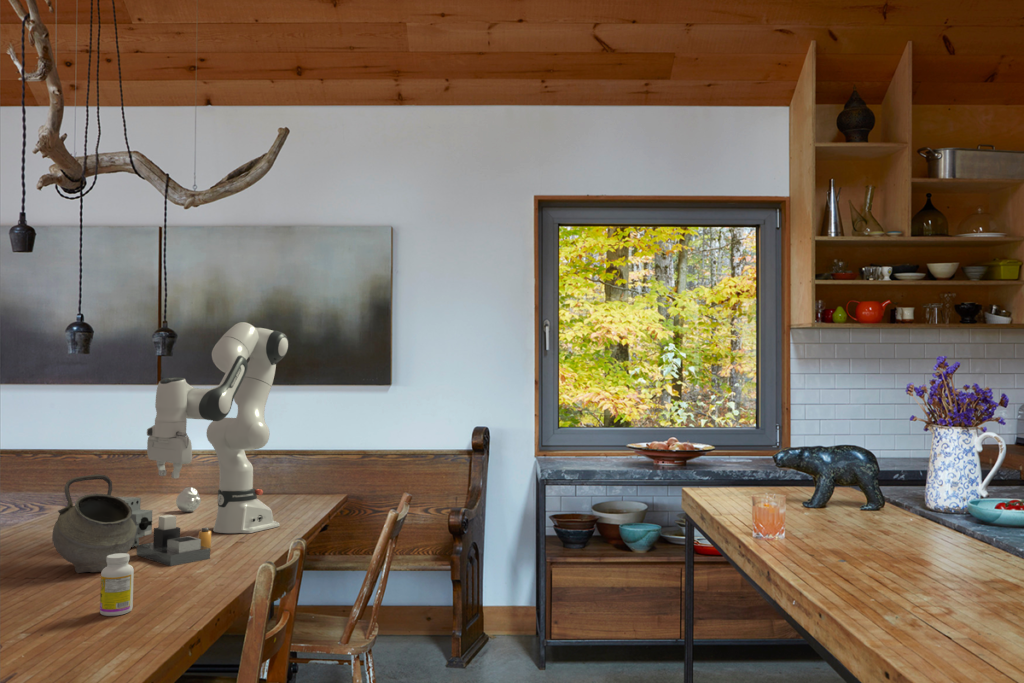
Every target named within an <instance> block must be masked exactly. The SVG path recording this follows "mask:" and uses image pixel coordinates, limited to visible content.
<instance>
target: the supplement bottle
mask: <svg viewBox="0 0 1024 683" xmlns="http://www.w3.org/2000/svg"><path fill="white" fill-rule="evenodd" d="M129 561H130V553H128V552H127V553H118V554H111V555H108V556H107V557H106V562H107V567H105V568H104V569H103V570H102V571H100V572H101V573H100V596H99V598H100V599H99V613H100V614H101V615H102V616H105V617H117V616H122V615H126V614H127V613H130V612H131V611H132V610H133V608H134V607H133V605H134V604H133V603H134V573H135V570H134V567H133V566H132V565H131V564H129Z"/></svg>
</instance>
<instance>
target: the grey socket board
mask: <svg viewBox="0 0 1024 683" xmlns="http://www.w3.org/2000/svg"><path fill="white" fill-rule="evenodd" d="M152 540H153V541H152V542H148V543H141V544H139V545H137V546H136V556H137V555H138V557H140V556H141V558H144V559H147V560H150V561H153V562H156V563H159V564H163V565H165V566H168V567H173V566H179V565H183V564H184V565H185V564H189V563H190V564H191V563H194V562H199V561H205V560H210V559H211V551H210V548H207V547H204V546H201V539H199V537H198V538H197V537H193V536H190V535H187V536H182V537H181V527H179V526H176V528H174V529H167V530H162V529H158V527H154V528H153V538H152Z"/></svg>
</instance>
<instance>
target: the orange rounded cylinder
mask: <svg viewBox="0 0 1024 683" xmlns="http://www.w3.org/2000/svg"><path fill="white" fill-rule="evenodd" d="M209 529H210V527H202V528H201V530H199V531H198V539H201V546H204V547H207V548H210V552H211V550H212V530H209Z"/></svg>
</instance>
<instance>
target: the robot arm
mask: <svg viewBox="0 0 1024 683" xmlns="http://www.w3.org/2000/svg"><path fill="white" fill-rule="evenodd" d="M288 350H289V339H288V336H287V335H286V334H285V333H284V332H281V331H279V330H273V329H272V330H271V329H269V328H263V327H255V326H254V325H252V324H251V323H248V322H244V321H243V322H237V323H236V324H234V325H232V327H230V328H229V329H228V330H227V331H226V332H225V333H224V334H223V335H222V336H221V337H220V338H219V339H218V341H217V342H216V344H215V345H214V347H213V348H212V351H211V359H212V362H213V364H214V365H215V366H216V368H218V370H220V371H221V372H223V373H224V376H223V377H222V379H221V381H220V383H219V384H218V385H217V386H215V387H211V388H198V387H194V386H191V385H190V383H188V382H187V380H186V378H184V377H181V376H180V377H179V376H178V377H175V376H174V377H167V378H163V379H161V380H160V381H158V384H157V387H156V394H155V403H154V405H155V412H156V416H155V418H154V425H152V426H151V427H149V428H147V429H146V436H148V437H147V441H146V443H147V447H146V448H147V449H146V450H147V451H146V452H147V453H146V454H147V457H148V460H151V461H156V467H157V470H158V476H159V477H166V476H167V472H168V471H167V469H166V466H165V464H166V463H170V464H172V467H173V469H172V472H171V476H170V478H171V479H179V478H180V473H181V471H182V468H183V465H189V464H191V462H192V460H193V446H192V441H191V439H190V437H189V436H188V433H187V423H188V422H187V421H188V419H191V420H206V421H211V422H210V423H209V424H208V426H207V428H206V438H207V441H208V442H209V443H210V445H211V446H212V447H213V450H214V451H215V455H216V458H217V461H218V467H219V489H218V490H217V513H216V519H215V523H214V525H213V529H212V531H213V532H214V533H220V534H252V533H257V532H261V531H266V530H268V529H273V528H278V527H280V522H278V521H277V520H274V515H273V510H272V509H271V507H269V506H268V505H266V504H265V503H264V502H262V500H260V499H258V496H262V495H263V493H264V492H263V491H262V489H259V488H257V489H255V488H254V467H253V464H252V463H251V461H250V460H249V459H248V457H247V455H246V452H245V451H255V450H258V449H262V448H264V447H265V446H266V445H267V443H268V442H269V440H270V429H269V426H268V425H267V423H266V421H265V419H266V418H265V410H266V409H265V408H266V405H267V402H268V397H269V395H270V392H271V390H272V386H273V383H274V378H275V375H276V367H277V364H278V363H280V361H281V360H282V359H283V358H285V357H286V355H287V353H288ZM248 359H249V360H248ZM233 402H235V404H236V405H237V413H236V414H237V415H236V416H235V417H227V416H228V415H229V413H230V412H231V409H232V407H233ZM257 495H258V496H257Z"/></svg>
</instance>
